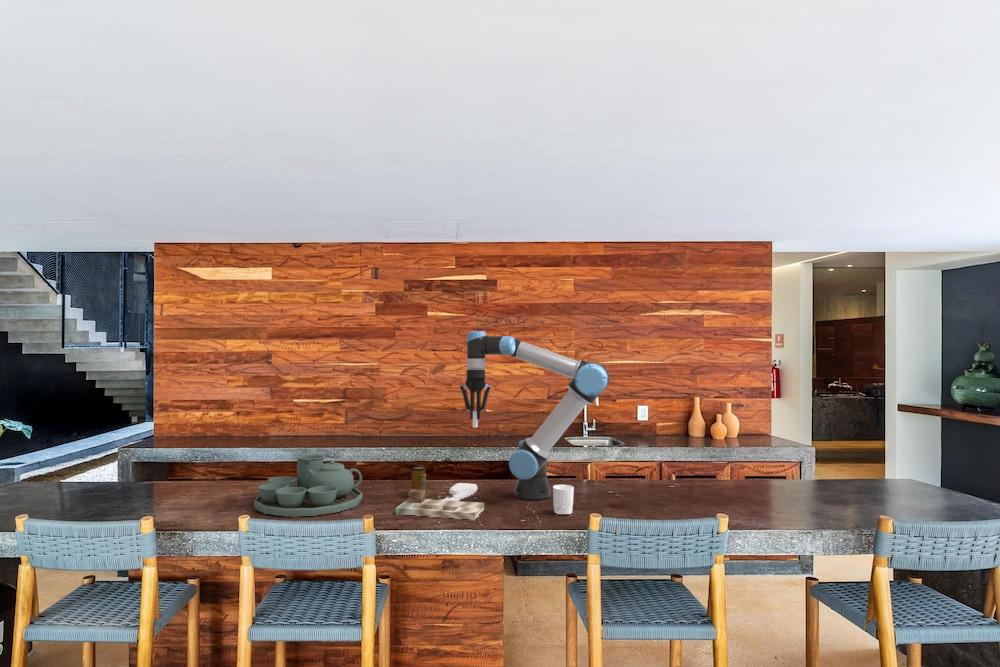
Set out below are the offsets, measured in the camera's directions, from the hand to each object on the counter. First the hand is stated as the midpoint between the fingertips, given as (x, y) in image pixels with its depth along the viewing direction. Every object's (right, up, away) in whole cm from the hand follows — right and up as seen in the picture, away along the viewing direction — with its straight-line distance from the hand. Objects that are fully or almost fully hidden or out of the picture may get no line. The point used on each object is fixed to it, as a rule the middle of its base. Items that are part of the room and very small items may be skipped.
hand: (475, 427), depth 249 cm
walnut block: (-22, -26, -14) cm, 37 cm away
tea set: (-64, -29, -10) cm, 71 cm away
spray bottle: (-7, -30, +6) cm, 31 cm away
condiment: (-23, -30, +3) cm, 38 cm away
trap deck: (-12, -29, -19) cm, 37 cm away
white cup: (+34, -30, -19) cm, 49 cm away
